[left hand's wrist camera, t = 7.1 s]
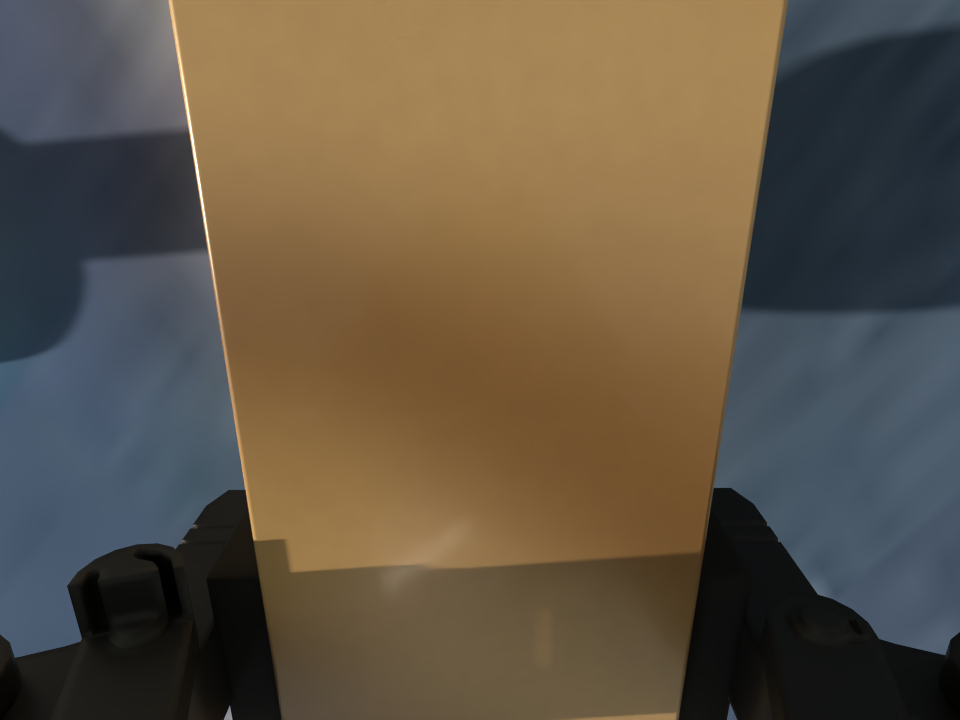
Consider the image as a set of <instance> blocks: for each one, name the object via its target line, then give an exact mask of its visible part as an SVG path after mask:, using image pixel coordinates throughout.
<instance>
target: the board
mask: <svg viewBox="0 0 960 720" xmlns="http://www.w3.org/2000/svg"><path fill="white" fill-rule="evenodd" d="M787 4H788V0H169V6H170V13H171V19H172V25H173V32H174V38H175V44H176V51H177V57H178V64H179V70H180V76H181V83H182V89H183V95H184V102H185V108H186V114H187V121H188V127H189V133H190V140H191V146H192V153H193V159H194V165H195V172H196V178H197V184H198V191H199V197H200V203H201V210H202V216H203V222H204V229H205V235H206V242H207V248H208V254H209V261H210V267H211V273H212V280H213V286H214V292H215V299H216V305H217V312H218V318H219V324H220V331H221V337H222V343H223V350H224V356H225V362H226V369H227V375H228V381H229V388H230V394H231V401H232V407H233V413H234V420H235V426H236V432H237V439H238V445H239V451H240V458H241V464H242V471H243V477H244V483H245V490H246V496H247V502H248V509H249V515H250V521H251V528H252V534H253V540H254V547H255V553H256V560H257V566H258V572H259V579H260V585H261V591H262V598H263V604H264V610H265V617H266V623H267V629H268V636H269V642H270V649H271V655H272V661H273V668H274V674H275V680H276V687H277V693H278V699H279V706H280V712H281V719H282V720H678V719H679V712H680V705H681V699H682V692H683V686H684V679H685V673H686V666H687V660H688V653H689V646H690V640H691V633H692V627H693V620H694V614H695V607H696V601H697V594H698V587H699V581H700V574H701V568H702V561H703V555H704V548H705V542H706V535H707V528H708V522H709V515H710V509H711V502H712V496H713V489H714V483H715V476H716V470H717V463H718V456H719V450H720V443H721V437H722V430H723V424H724V417H725V411H726V404H727V397H728V391H729V384H730V378H731V371H732V365H733V358H734V352H735V345H736V338H737V332H738V325H739V319H740V312H741V306H742V299H743V293H744V286H745V279H746V273H747V266H748V260H749V253H750V247H751V240H752V234H753V227H754V220H755V214H756V207H757V201H758V194H759V188H760V181H761V175H762V168H763V162H764V155H765V148H766V142H767V135H768V129H769V122H770V116H771V109H772V103H773V96H774V89H775V83H776V76H777V70H778V63H779V57H780V50H781V44H782V37H783V30H784V24H785V17H786V11H787Z"/></svg>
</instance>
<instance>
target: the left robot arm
mask: <svg viewBox="0 0 960 720" xmlns="http://www.w3.org/2000/svg"><path fill="white" fill-rule="evenodd" d="M67 587H68V591H69V594H70V598H71V601H72V605H73V608H74V612H75V615H76V619H77V622H78V626H79V629H80V633H81V636H82V640H81V642H78V643H75V644H72V645H68V646H65V647H61V648H56V649H52V650H48V651H43V652H39V653H35V654H30V655H26V656H22V657H17V658H15V657H14V654H13V651H12V648H11V645H10V642H8V641H7V640H6V639H5V638H4V637H2V636H1V635H0V720H224V717H225V715H226V713H227V710H228V708H229V706H230V708H231V713H232V718H233V720H282V719H281V712H280V706H279V699H278V693H277V687H276V680H275V674H274V668H273V661H272V655H271V649H270V642H269V636H268V629H267V623H266V617H265V610H264V604H263V598H262V591H261V585H260V579H259V572H258V566H257V560H256V553H255V547H254V540H253V534H252V528H251V521H250V515H249V509H248V502H247V496H246V490H228V491H227V492H225V493H224V494H223V495H221V496H220V497H218V498H217V499H215V500H214V501H213V502H211V503H210V504H208V505H207V506H206V507H205V508H204V510H203V511H202V513H201V514H200V516H199V517H198V518H197V520H196V521H195V523H194V524H193V529H190V530H189V531H188V533H187V534H186V535H185V537H184V538H183V540H182V544H179V545H178V547H177V548H176V550H175V549H174V548H173V547H170V546H166V545H162V544H157V543H156V544H137V545H133V546H129V547H126V548H122V549H118V550H115V551H112V552H110V553H108V554H106V555H104V556H102V557H99V558H97V559H95V560H94V561H92V562H91V563H90V564H88V565H87V566H85V567H84V568H83V569H81V570H80V571H79V572H77V574H76V575H75V576H74V578H73V579H72V580H71V582H70V583H69V584H68V586H67ZM730 704H731V706H732V709H733V711H734V713H735V716H736V718H737V720H960V632H959V633H958V634H957V635H956V636H955V637H953V638H952V639H951V640H950V643H949V646H948V649H947V652H946V655H941V654H937V653H933V652H928V651H924V650H919V649H915V648H911V647H906V646H902V645H898V644H894V643H890V642H887V641H884V640H880V639H878V637H877V635H876V634H875V632H874V631H873V629H872V628H871V626H870V625H869V623H868V622H867V621H866V620H864V619H863V618H862V617H861V616H860V615H858V614H857V613H856V612H855V611H854V610H852V609H851V608H849V607H847V606H845V605H843V604H841V603H839V602H837V601H835V600H833V599H831V598H827V597H824V596H820V595H818V594H817V593H816V591H815V590H814V589H813V587H812V586H811V584H810V583H809V581H808V580H807V579H806V577H805V576H804V574H803V573H802V572H801V570H800V569H799V567H798V566H797V565H796V563H795V562H794V560H793V559H792V558H791V556H790V555H789V553H788V552H787V550H786V549H785V548H784V546H783V545H782V543H781V542H778V538H777V536H776V535H775V534H774V532H773V531H772V529H771V528H770V527H769V526H767V522H766V521H765V519H764V518H763V517H762V515H761V514H760V512H759V511H758V510H757V508H756V507H755V505H754V504H753V503H751V502H750V501H749V500H747V499H746V498H744V497H743V496H741V495H740V494H739V493H737V492H736V491H734V490H733V489H732V488H714V489H713V496H712V502H711V509H710V515H709V522H708V528H707V535H706V542H705V548H704V555H703V561H702V568H701V574H700V581H699V587H698V594H697V601H696V607H695V614H694V620H693V627H692V633H691V640H690V646H689V653H688V660H687V666H686V673H685V679H684V686H683V692H682V699H681V705H680V712H679V719H678V720H727V716H728V710H729V705H730Z"/></svg>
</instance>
